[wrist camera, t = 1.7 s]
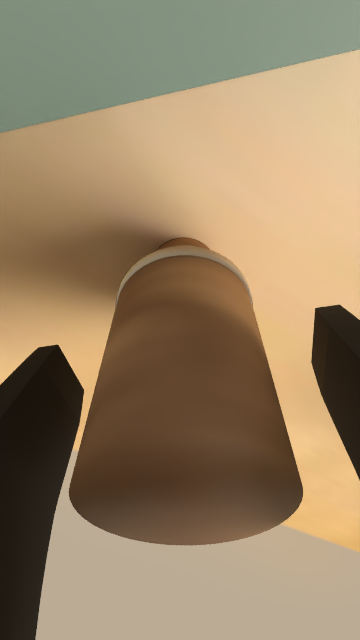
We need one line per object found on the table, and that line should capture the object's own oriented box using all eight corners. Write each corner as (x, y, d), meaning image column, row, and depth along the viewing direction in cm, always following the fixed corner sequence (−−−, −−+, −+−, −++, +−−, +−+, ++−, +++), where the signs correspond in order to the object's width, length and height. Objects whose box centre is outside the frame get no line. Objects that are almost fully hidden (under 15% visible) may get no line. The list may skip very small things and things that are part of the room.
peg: (143, 319, 15) (110, 551, 8) (112, 225, 12) (21, 453, 5) (243, 304, 15) (302, 539, 8) (234, 202, 12) (312, 422, 5)
